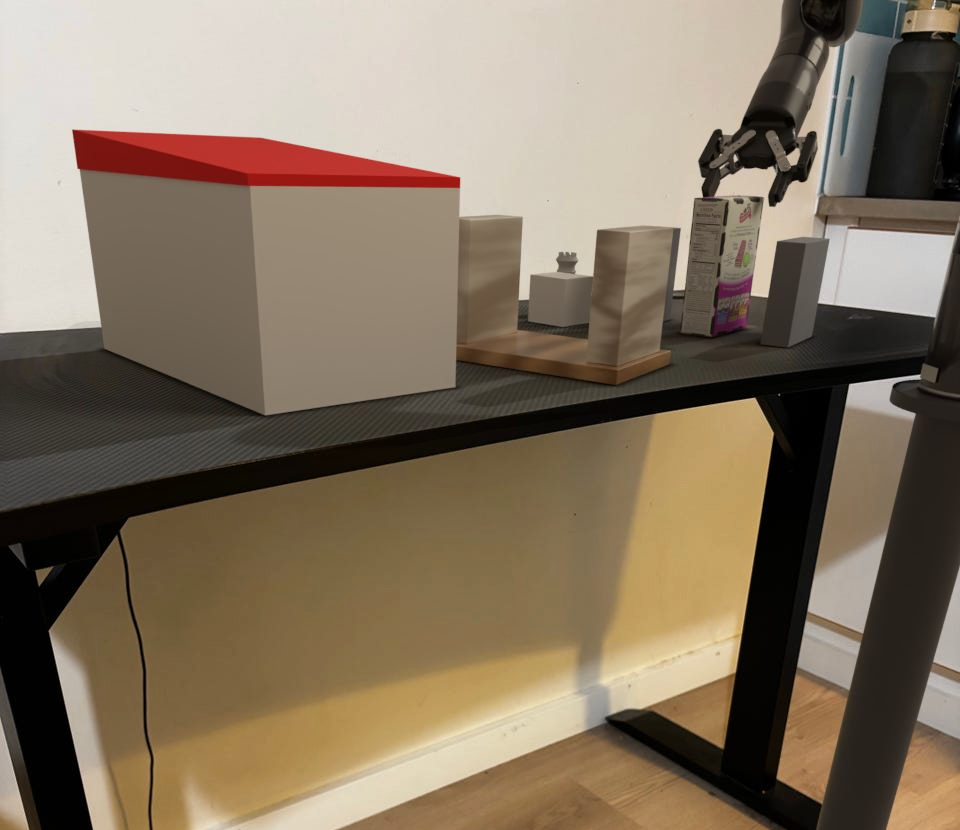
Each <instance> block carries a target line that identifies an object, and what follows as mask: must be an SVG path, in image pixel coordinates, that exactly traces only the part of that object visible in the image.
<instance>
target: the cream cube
mask: <svg viewBox="0 0 960 830" xmlns="http://www.w3.org/2000/svg"><path fill="white" fill-rule="evenodd" d="M529 275H530V276H529V292H528V293H529V294H528V309H527V310H528V312H527V322H530V323H536V324H541V325H542V324H543V325H547V326H548V325H549V326H555V327H560V328H565V327H572V326H579V325H584V324H589V322H590V310H591V297H592V285H593V275H585V274H579V273H578V274H577V273H575V274H570V273H563V272H557V271H552V272H542V273H531V274H529Z"/></svg>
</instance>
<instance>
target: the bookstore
mask: <svg viewBox="0 0 960 830" xmlns="http://www.w3.org/2000/svg"><path fill="white" fill-rule="evenodd" d="M71 131H72V132H71V133H72V139H73V147H74V154H75V161H76V167H77V170H79V174H80V175H79V176H80V183H81V190H82V195H83V203H84V211H85V219H86V226H87V233H88V241H89V246H90V247H89V248H90V255H91V261H92V268H93V277H94V283H95V290H96V291H95V292H96V299H97V305H98V313H99V320H100V326H101V334H102V341H103V342H102V343H103V348H104V350H107V351H109V352H112V353H113V354H116V355H119V356H121V357H123V358H126V359H128V360H131V361H133V362H136V363H138V364H140V365H143V366H145V367H147V368H150V369H152V370H155V371H157V372H160V373H162V374H164V375H167V376H170V377H171V378H175V379H177V380H179V381H181V382H184V383H185V384H188V385H191V386H194V387H195V388H198V389H201V390H203V391H206V392H208V393H210V394H212V395H215V396H217V397H219V398H222V399H225V400H227V401H230V402H232V403H234V404H237V405H239V406H241V407H243V408H246V409H248V410H252V411H253V412H255V413H258V414H261V415H262V416H271V415H279V414H284V413H289V412H297V411H303V410H310V409H317V408H324V407H330V406H337V405H345V404H352V403H357V402H365V401H372V400H378V399H386V398H393V397H398V396H405V395H411V394H418V393H419V394H420V393H427V392H432V391H439V390H445V389H453V388H456V379H457V378H456V377H457V375H456V374H457V360H456V340H457V296H458V253H459V217H460V209H461V208H460V202H461V177H460V176H456V175H451V174H446V173H441V172H435V171H430V170H426V169H421V168H415V167H411V166H405V165H400V164H395V163H391V162H385V161H381V160H375V159H370V158H365V157H361V156H357V155H356V156H355V155H350V154H345V153H341V152H335V151H330V150H325V149H320V148H315V147H311V146H307V145H306V146H305V145H300V144H295V143H290V142H286V141H280V140H276V139H270V138H266V137H258V136H257V137H254V136H253V137H252V136H229V135H227V136H226V135H211V134H209V135H208V134H207V135H206V134H205V135H204V134H187V133H186V134H183V133H163V132H161V133H160V132H141V131H139V132H138V131H115V130H95V129H94V130H93V129H71Z"/></svg>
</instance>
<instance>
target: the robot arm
mask: <svg viewBox="0 0 960 830" xmlns="http://www.w3.org/2000/svg"><path fill="white" fill-rule="evenodd" d="M863 4H864V0H782V5H781V11H780V19H779V36H778V41H777V45H776V47H775V50H774V52H773V55H772V57H771V59H770V62H769V64H768V66H767V68H766V69H765V71H764V72H763V74H762V75H761V78H760V79H759V81H758V83H757V86H756V88H755V90H754V93H753V94H752V97H751V99H750V101H749V104H748V106H747V108H746V110H745V112H744V115H743V118H742V120H741V124H740V126H739V128H738V130H736V131H735V132H734V133H733V134H732V135H731V134H724V133H723V130H722V129H721V128H717V129H714V130H713V132H712V134H711V135H710V137H709V139H708V141H707V143H706V144H705V147H704V149H703V150H702V152H701V154H700V156H699V158H698V160H697V163H698V168H699V172H700V173H699V174H700V177H701V178H703V179H704V181H703V183H702V185H701V195H702V197H715V196H716V194H717V192H718V189H719V187H720V185H721V181H722V180H723V179H725V178H726V177H727V176H729V175H732V176H733V175H735V174H736V173H738V172H739V171H741V170H742V169H744V170H745V169H746V170H751V169H759V170H767V171H768V169H769V168H773V170H774V172H775V174H776V175H775V177H774V179H773V182H772V184H771V187H770V189H769V190H768V194H767V201H768V207H772V208H776V206H777V205H778V204H780V203H782V202H783V200H784V198H785V195H786V193H787V191H788V188H789V186H790V185H791V184H792V183H793V182H796V181H798V182H799V183H802V184H803V183H805V182H807V181H808V179H809V176H810V173H811V170H812V167H813V165H814V162H815V159H816V156H817V152H818V149H819V148H818V146H819V145H818V133H817V131H815V130H811V131H809V132H807V133H806V136H799V135H800V132H801V130H802V127H803V125H804V123H805V120H806V119H807V115H808V114H809V112H810V110H811V108H812V105H813V101H814V98H815V96H816V92H817V87H818V85H819V82H820V81H821V78H822V76H823V73H824V71H825V68H826V66H827V64H828V61H829V57H830V48H837V47H840V46H842V45H844V44H845V43H847V42H848V41H849V40H850V39H851V38H852V37H853V36H854V34H855V32H856V30H857V28H858V25H859V23H860V20H861V16H862V12H863V6H864V5H863ZM796 149H797V150H798V154H799V157H798V159H797V162H796V164H793V165H791V163H790V161H789V159H788V156H789V155H791V154H792V153H793V152H794V151H796ZM734 157H736V159H737V160H735V159H734ZM947 263H948V264H947V267H946V271H945V275H944V279H943V284H942V288H941V292H940V297H939V301H938V305H937V309H936V313H935V318H934V321H933V325H932V330H931V335H930V338H929V343H928V347H927V351H926V356H925V359H924V363H922V366H921V370H920V375H919V378H920V379H921V381H919V385H918V390H920V391H921V392H923V393H926V394H928V395H931V396H935V397H939V398H944V399H949V400H955V401H960V215H959V217H958V221H957V224H956V229H955V234H954V237H953V241H952V246H951V250H950V254H949V259H948V262H947Z"/></svg>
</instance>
